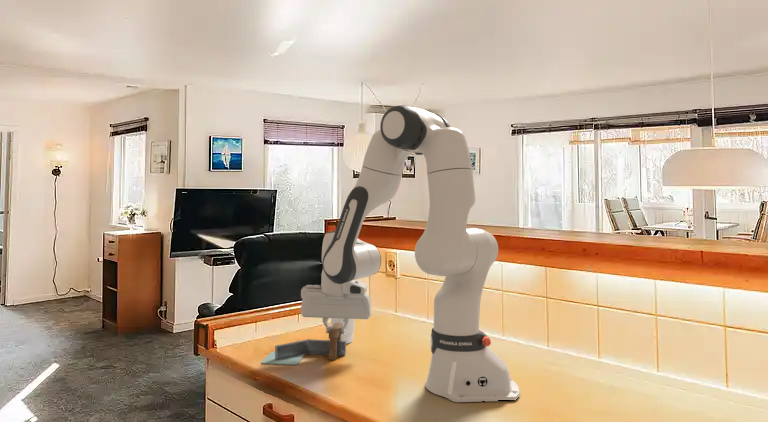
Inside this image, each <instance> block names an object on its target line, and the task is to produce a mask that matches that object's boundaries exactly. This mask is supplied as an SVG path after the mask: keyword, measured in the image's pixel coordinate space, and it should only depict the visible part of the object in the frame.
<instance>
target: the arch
mask: <svg viewBox="0 0 768 422" xmlns="http://www.w3.org/2000/svg"><path fill="white" fill-rule="evenodd" d="M340 326H342V323H334V324H333V326H332V328H331V329H330V331H329V333H328V340H330V351H329V355H328V356H329V358H328V359H329V360H330V361H336V360H337V356H338V355H337V340H338V341H341V334H339V332H340V330H339V328H340Z"/></svg>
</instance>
